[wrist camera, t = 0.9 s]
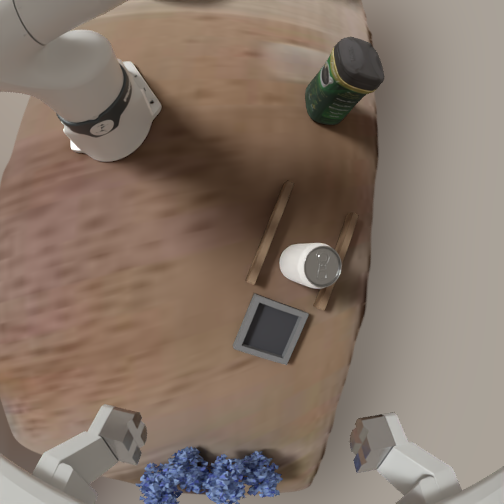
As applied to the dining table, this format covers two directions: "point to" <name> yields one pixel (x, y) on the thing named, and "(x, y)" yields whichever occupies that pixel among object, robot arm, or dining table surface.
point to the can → (311, 264)
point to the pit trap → (270, 329)
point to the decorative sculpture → (209, 478)
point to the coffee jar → (343, 81)
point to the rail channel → (271, 229)
